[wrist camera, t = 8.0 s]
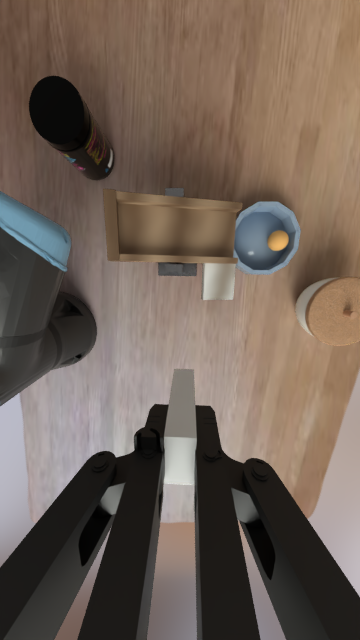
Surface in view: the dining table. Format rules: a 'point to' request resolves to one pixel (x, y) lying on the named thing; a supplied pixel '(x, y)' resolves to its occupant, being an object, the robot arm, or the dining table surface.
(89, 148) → the supplement container
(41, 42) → the dining table surface
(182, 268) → the pivot stand
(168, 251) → the lever
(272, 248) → the ball
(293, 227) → the bowl
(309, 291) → the lidded jar
